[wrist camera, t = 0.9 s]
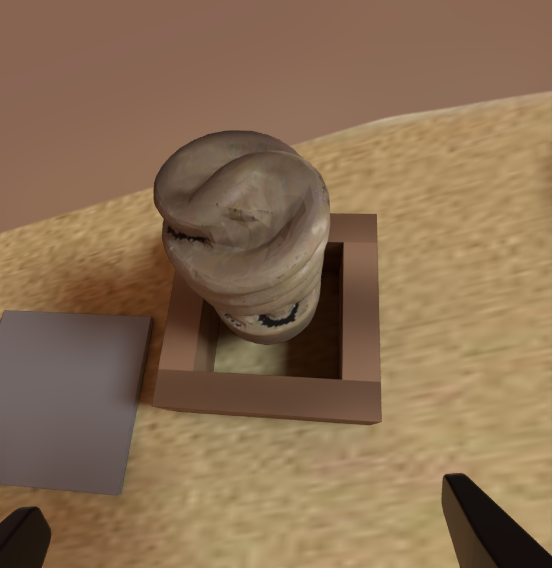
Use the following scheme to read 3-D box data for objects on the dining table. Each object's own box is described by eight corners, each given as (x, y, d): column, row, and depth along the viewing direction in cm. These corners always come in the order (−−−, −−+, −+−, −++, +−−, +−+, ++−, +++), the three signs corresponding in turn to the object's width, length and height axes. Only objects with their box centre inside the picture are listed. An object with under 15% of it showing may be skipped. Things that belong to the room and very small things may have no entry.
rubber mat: (120, 494, 22) (116, 495, 21) (-45, 478, 23) (-52, 479, 22) (153, 318, 25) (150, 316, 25) (9, 312, 26) (4, 310, 26)
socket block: (370, 425, 22) (381, 421, 18) (177, 411, 23) (151, 406, 19) (367, 246, 26) (376, 214, 22) (203, 242, 27) (186, 211, 23)
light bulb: (342, 327, 24) (380, 173, 10) (275, 389, 23) (215, 313, 9) (280, 266, 26) (241, 64, 12) (215, 321, 25) (91, 171, 11)
